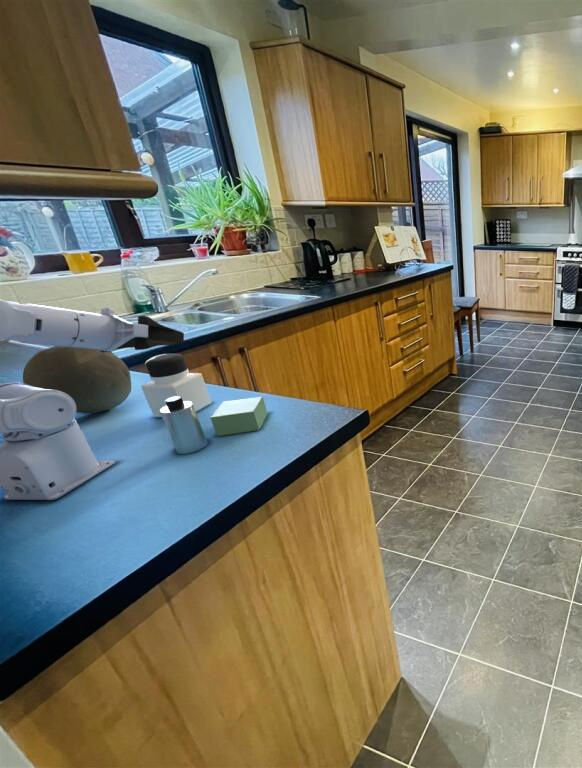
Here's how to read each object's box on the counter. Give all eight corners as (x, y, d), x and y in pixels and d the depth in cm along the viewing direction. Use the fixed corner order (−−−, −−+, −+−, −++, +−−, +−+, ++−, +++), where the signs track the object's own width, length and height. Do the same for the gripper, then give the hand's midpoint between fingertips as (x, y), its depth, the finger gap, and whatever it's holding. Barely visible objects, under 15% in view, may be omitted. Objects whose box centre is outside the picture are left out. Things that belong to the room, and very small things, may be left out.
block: (259, 430, 76) (253, 411, 74) (217, 436, 74) (210, 417, 72) (267, 413, 82) (262, 396, 80) (228, 419, 80) (222, 401, 78)
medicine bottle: (213, 403, 87) (194, 350, 82) (185, 418, 81) (163, 363, 76) (183, 402, 88) (162, 350, 83) (153, 417, 81) (129, 362, 76)
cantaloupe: (107, 395, 92) (77, 332, 85) (158, 399, 89) (131, 334, 83) (29, 426, 79) (-13, 354, 73) (87, 431, 77) (48, 358, 70)
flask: (194, 454, 69) (175, 404, 65) (170, 453, 69) (149, 404, 65) (213, 440, 73) (195, 393, 69) (190, 440, 73) (171, 393, 69)
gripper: (98, 298, 59) (195, 315, 72) (40, 306, 63) (142, 320, 76) (97, 345, 59) (195, 354, 72) (39, 350, 63) (141, 357, 76)
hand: (168, 339), depth 74 cm, fingers open, 7 cm apart
